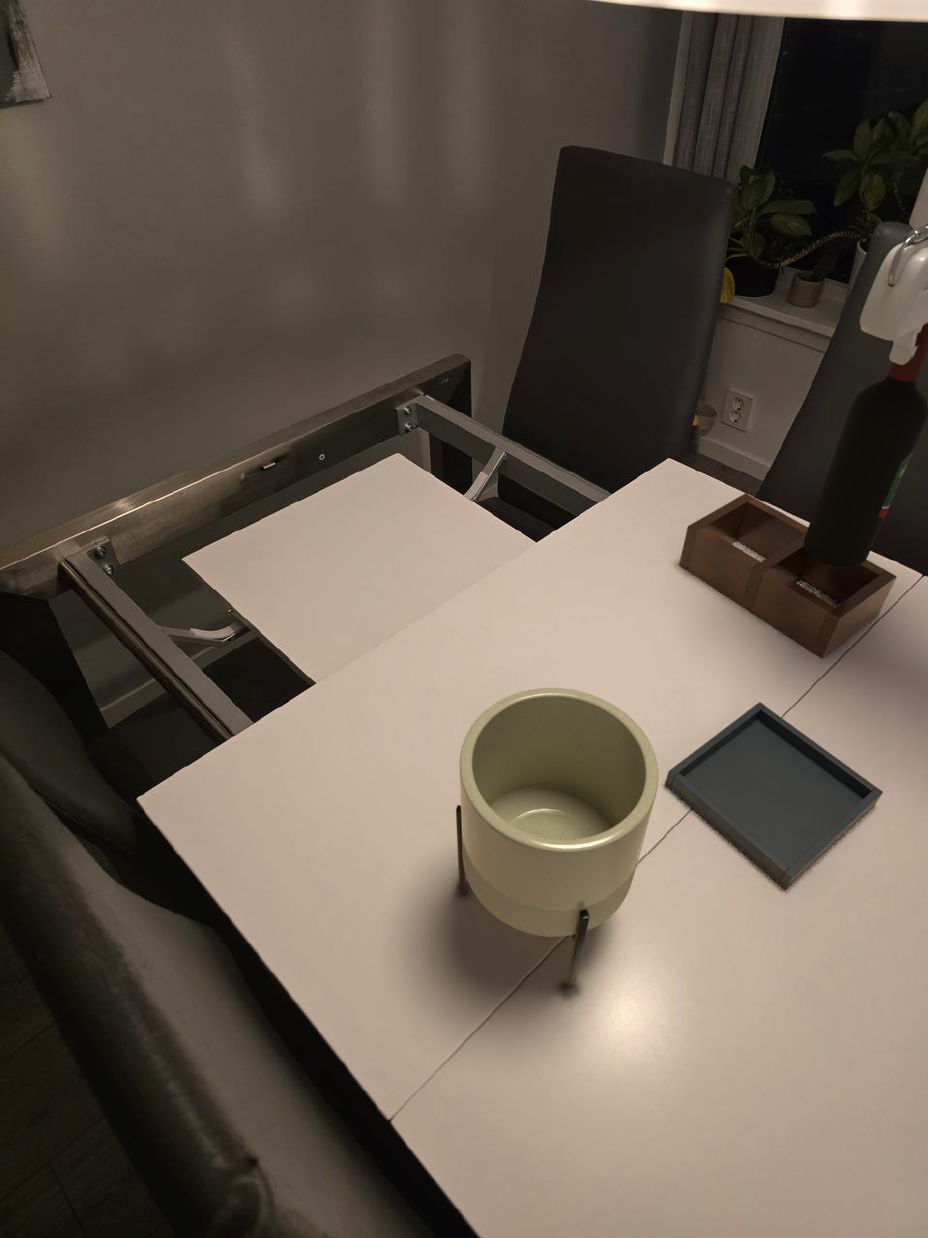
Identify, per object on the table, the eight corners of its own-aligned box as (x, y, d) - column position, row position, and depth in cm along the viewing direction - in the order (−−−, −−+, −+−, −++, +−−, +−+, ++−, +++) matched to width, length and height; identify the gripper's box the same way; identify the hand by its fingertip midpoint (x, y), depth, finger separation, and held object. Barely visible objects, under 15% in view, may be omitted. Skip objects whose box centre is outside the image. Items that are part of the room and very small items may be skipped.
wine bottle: (798, 527, 100) (879, 291, 80) (860, 531, 99) (958, 293, 79) (809, 565, 95) (898, 321, 74) (874, 569, 94) (983, 325, 73)
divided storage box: (877, 616, 104) (897, 576, 99) (821, 658, 99) (839, 618, 94) (734, 531, 117) (745, 492, 113) (678, 565, 112) (687, 525, 107)
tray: (875, 804, 83) (883, 791, 82) (785, 889, 77) (792, 877, 75) (754, 714, 92) (759, 701, 91) (664, 784, 86) (668, 771, 84)
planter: (656, 895, 76) (703, 754, 60) (551, 1018, 68) (573, 893, 52) (538, 801, 84) (551, 655, 68) (431, 902, 76) (418, 763, 60)
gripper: (941, 243, 64) (882, 398, 74) (1057, 193, 73) (991, 337, 82) (870, 224, 68) (823, 374, 77) (990, 178, 76) (934, 318, 86)
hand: (911, 355), depth 80 cm, fingers closed on wine bottle, 3 cm apart
